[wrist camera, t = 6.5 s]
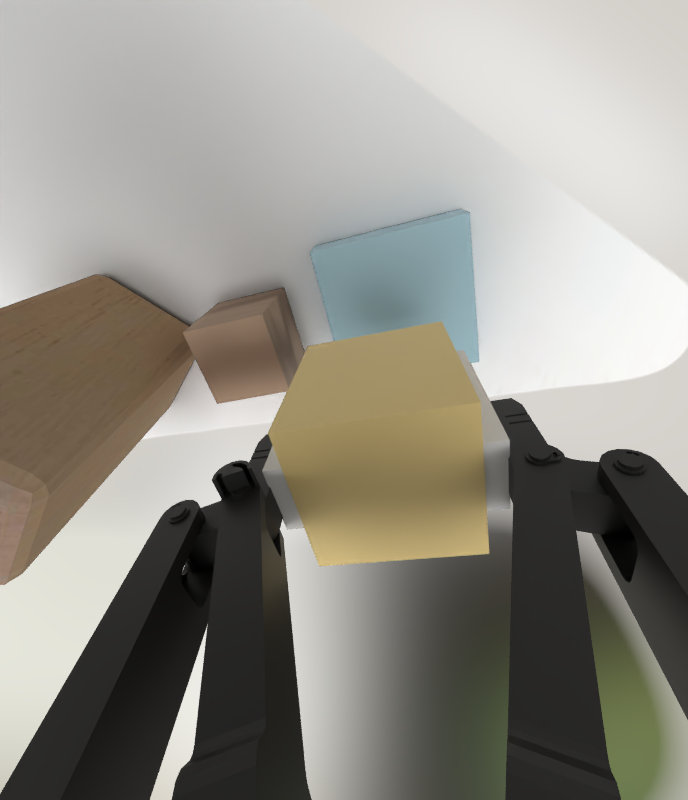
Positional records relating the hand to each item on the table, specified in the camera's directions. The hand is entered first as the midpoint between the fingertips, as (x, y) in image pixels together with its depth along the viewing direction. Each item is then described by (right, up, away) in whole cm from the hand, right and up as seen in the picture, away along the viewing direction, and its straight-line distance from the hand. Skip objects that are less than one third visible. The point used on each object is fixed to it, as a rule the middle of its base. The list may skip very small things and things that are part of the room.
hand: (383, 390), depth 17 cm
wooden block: (-21, +5, +17) cm, 28 cm away
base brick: (+3, +8, +13) cm, 16 cm away
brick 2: (0, 0, +1) cm, 0 cm away
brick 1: (-9, +6, +16) cm, 19 cm away
